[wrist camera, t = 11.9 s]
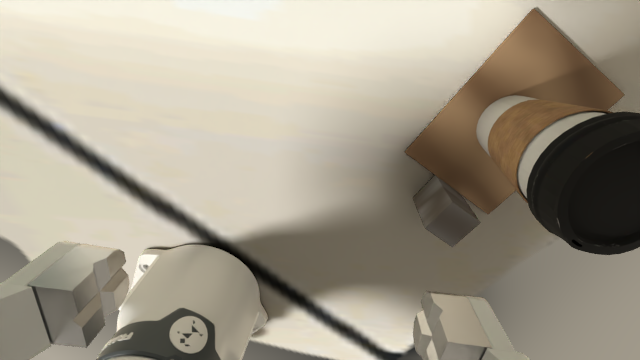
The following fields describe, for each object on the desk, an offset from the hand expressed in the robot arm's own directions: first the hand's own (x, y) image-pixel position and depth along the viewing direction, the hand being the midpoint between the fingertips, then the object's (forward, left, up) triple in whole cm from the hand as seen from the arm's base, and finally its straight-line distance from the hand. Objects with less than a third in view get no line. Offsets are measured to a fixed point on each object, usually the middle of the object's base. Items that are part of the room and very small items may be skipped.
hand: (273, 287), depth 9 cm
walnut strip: (+7, -16, -25) cm, 31 cm away
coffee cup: (+9, -16, -25) cm, 31 cm away
